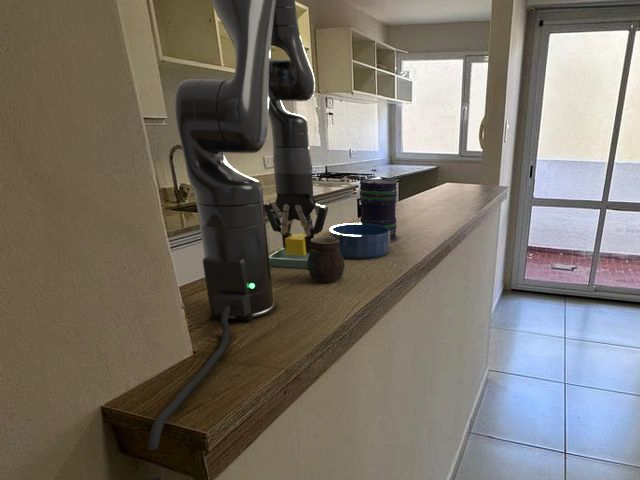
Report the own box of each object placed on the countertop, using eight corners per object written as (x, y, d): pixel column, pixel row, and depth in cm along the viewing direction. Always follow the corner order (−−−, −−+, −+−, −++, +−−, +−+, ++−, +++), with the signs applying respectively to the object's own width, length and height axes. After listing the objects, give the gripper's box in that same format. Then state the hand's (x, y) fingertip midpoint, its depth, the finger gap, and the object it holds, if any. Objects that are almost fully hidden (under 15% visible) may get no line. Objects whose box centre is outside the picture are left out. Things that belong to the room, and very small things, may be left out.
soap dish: (315, 269, 94) (315, 261, 94) (266, 265, 95) (265, 257, 95) (330, 256, 103) (330, 249, 103) (285, 253, 104) (284, 246, 104)
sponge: (303, 255, 96) (302, 239, 95) (286, 254, 97) (284, 238, 95) (312, 249, 101) (311, 234, 99) (295, 248, 101) (293, 233, 100)
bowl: (383, 261, 101) (383, 237, 99) (322, 257, 102) (321, 233, 100) (394, 246, 114) (394, 225, 112) (340, 243, 115) (339, 221, 113)
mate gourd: (305, 275, 90) (301, 225, 86) (342, 272, 93) (340, 224, 89) (310, 286, 84) (307, 234, 80) (350, 283, 86) (348, 232, 83)
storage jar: (368, 232, 128) (367, 166, 121) (401, 235, 126) (402, 168, 119) (354, 239, 120) (352, 169, 113) (389, 243, 117) (389, 171, 110)
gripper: (251, 170, 89) (260, 253, 96) (320, 173, 88) (324, 258, 94) (268, 167, 96) (275, 245, 103) (332, 170, 95) (335, 249, 101)
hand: (299, 251), depth 99 cm, fingers closed on sponge, 4 cm apart
